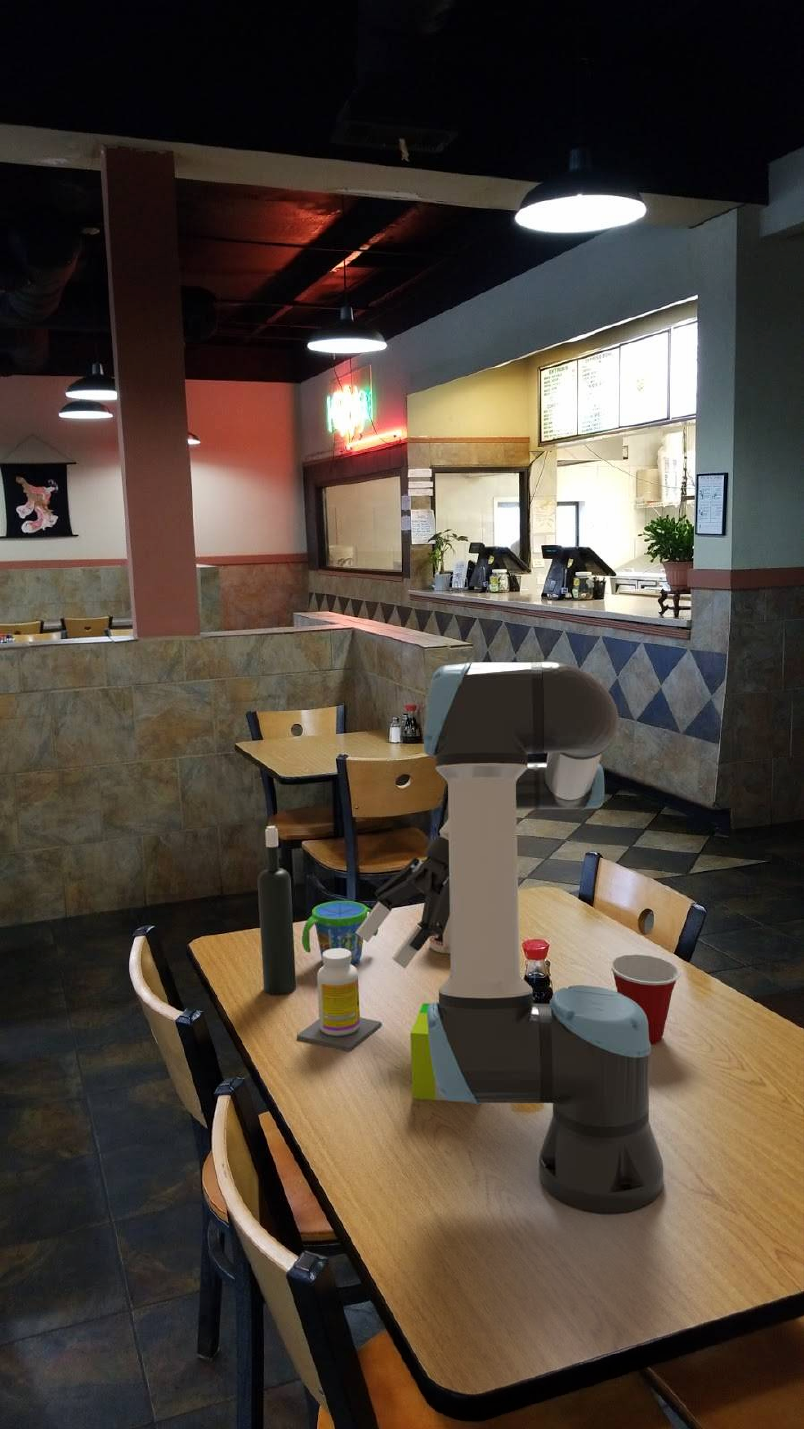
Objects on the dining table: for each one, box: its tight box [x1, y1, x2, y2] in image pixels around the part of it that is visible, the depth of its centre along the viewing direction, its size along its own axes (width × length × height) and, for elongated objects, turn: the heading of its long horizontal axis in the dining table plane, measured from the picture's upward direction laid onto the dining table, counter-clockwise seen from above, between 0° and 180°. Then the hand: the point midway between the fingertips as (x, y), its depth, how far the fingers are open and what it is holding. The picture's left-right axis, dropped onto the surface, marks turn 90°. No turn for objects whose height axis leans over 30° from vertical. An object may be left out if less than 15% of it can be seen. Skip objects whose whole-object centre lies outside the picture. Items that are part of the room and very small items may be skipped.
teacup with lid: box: [428, 916, 450, 955], centre depth 209 cm, size 12×9×12 cm
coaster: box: [296, 1016, 383, 1052], centre depth 176 cm, size 10×10×1 cm
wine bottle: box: [257, 825, 297, 996], centre depth 191 cm, size 6×6×30 cm
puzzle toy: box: [409, 1002, 474, 1104], centre depth 157 cm, size 10×10×10 cm
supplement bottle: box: [316, 948, 361, 1036], centre depth 175 cm, size 7×7×13 cm
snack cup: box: [301, 900, 379, 965], centre depth 205 cm, size 16×10×10 cm
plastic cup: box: [609, 953, 682, 1046], centre depth 169 cm, size 11×11×12 cm
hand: (379, 950), depth 177 cm, fingers open, 13 cm apart
